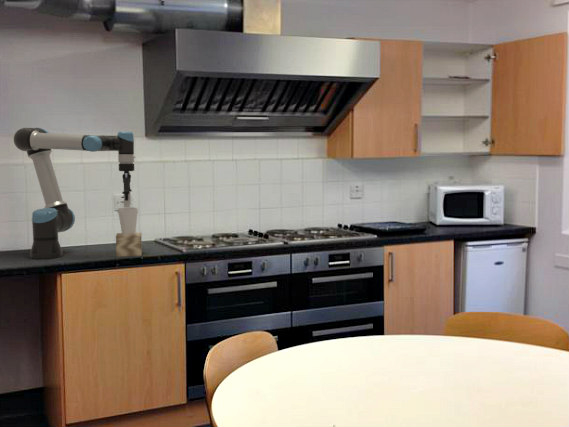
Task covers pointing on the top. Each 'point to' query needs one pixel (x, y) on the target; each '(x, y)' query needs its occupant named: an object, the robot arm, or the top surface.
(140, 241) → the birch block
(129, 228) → the foam cup
